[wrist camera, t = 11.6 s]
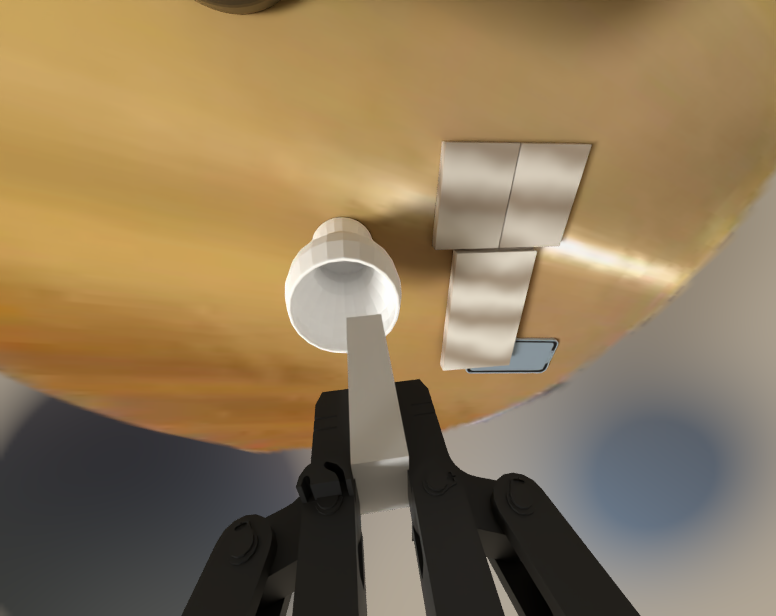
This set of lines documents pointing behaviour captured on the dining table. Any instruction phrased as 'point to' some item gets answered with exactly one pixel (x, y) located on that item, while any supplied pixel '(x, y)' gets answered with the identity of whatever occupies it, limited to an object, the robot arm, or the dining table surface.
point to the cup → (340, 284)
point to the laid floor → (505, 193)
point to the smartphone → (525, 357)
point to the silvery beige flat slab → (485, 305)
